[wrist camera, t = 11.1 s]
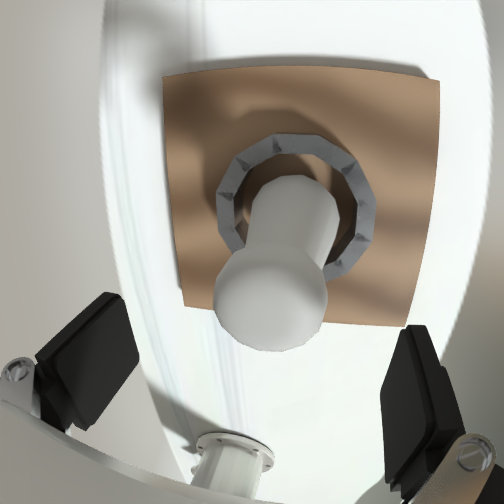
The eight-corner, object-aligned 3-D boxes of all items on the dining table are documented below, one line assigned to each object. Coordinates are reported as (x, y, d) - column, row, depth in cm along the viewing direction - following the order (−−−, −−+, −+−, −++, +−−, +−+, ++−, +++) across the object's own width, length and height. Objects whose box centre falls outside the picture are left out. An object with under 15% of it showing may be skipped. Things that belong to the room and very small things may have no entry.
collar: (361, 275, 23) (364, 292, 21) (230, 264, 25) (221, 279, 23) (374, 137, 19) (381, 140, 16) (224, 132, 21) (212, 135, 19)
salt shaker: (247, 180, 22) (160, 258, 10) (325, 159, 20) (327, 219, 9) (271, 252, 24) (220, 379, 12) (345, 237, 22) (358, 366, 11)
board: (401, 316, 25) (404, 326, 24) (190, 297, 29) (184, 306, 28) (432, 82, 17) (439, 80, 16) (171, 78, 21) (162, 77, 20)
